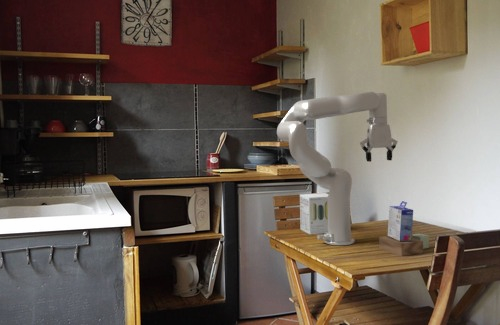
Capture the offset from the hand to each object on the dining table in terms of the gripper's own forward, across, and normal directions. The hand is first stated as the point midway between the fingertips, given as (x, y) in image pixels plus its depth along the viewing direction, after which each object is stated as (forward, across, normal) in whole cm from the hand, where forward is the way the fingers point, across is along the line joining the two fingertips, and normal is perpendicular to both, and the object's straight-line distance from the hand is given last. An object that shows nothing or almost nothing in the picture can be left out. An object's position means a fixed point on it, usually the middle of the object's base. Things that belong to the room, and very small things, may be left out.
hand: (379, 160), depth 226 cm
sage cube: (+34, +5, -23) cm, 41 cm away
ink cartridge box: (+29, -5, -25) cm, 39 cm away
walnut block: (+34, -4, -25) cm, 43 cm away
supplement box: (+34, -21, +24) cm, 46 cm away
